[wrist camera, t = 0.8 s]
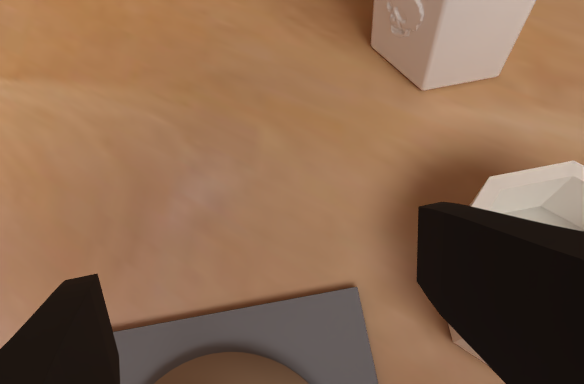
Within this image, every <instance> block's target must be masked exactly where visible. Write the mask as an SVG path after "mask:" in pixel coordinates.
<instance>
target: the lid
mask: <svg viewBox="0 0 584 384" xmlns="http://www.w3.org/2000/svg"><path fill="white" fill-rule="evenodd" d="M154 384H309V383H308V382H307V381H306V380H304V379H303V378H302V377H301V376H300V375H299V374H297V373H296V372H294V371H293V370H291V369H290V368H288V367H287V366H285V365H283V364H280V363H278V362H276V361H274V360H272V359H269V358H265V357H262V356H259V355H255V354H250V353H244V352H222V353H213V354H209V355H205V356H201V357H198V358H195V359H193V360H190V361H188V362H185V363H183V364H181V365H180V366H178V367H176V368H174V369H172V370H171V371H169V372H168V373H167V374H165V375H164V376H163V377H161V378H160V379H159V380H157V381H156V382H155V383H154Z"/></svg>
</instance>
